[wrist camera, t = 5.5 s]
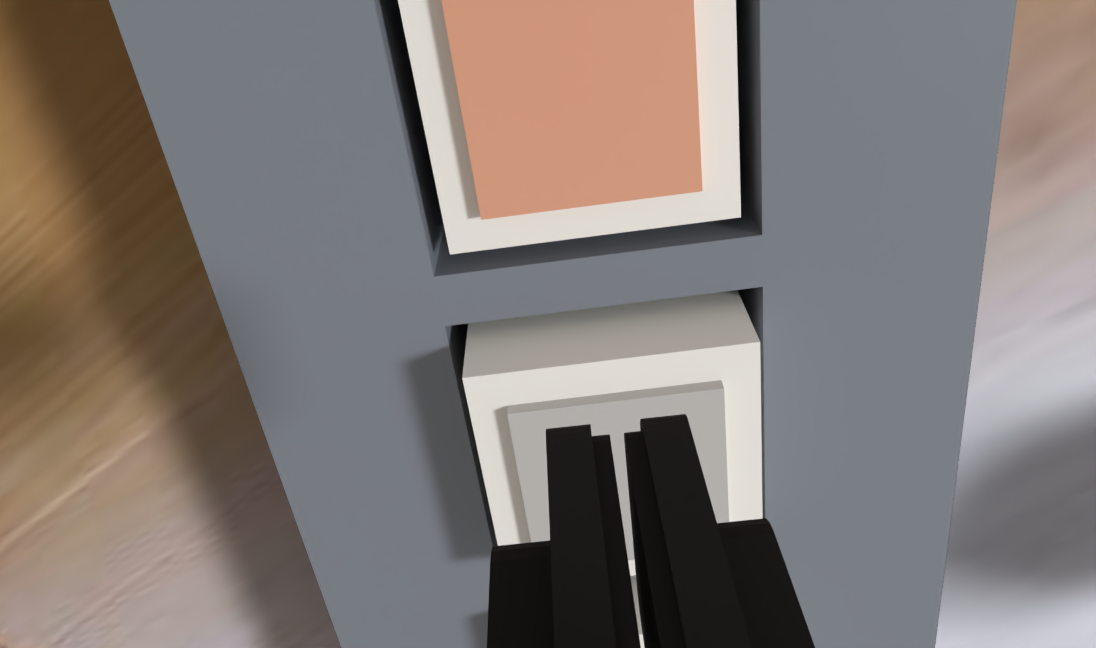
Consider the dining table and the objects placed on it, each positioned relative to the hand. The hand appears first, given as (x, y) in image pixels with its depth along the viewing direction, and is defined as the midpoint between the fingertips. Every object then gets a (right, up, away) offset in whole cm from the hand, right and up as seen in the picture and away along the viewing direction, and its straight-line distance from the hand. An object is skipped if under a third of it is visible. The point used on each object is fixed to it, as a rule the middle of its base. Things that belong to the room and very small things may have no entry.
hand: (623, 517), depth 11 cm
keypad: (+1, +2, +14) cm, 14 cm away
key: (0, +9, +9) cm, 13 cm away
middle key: (+1, +1, +12) cm, 12 cm away
